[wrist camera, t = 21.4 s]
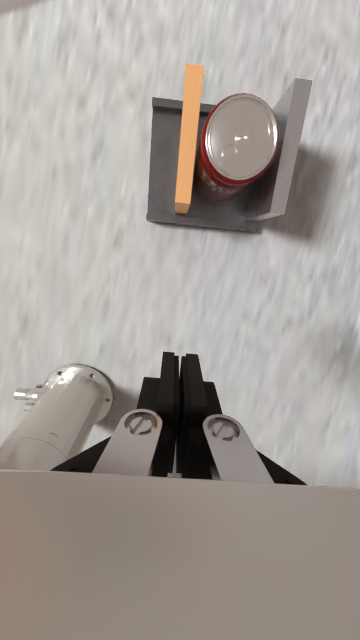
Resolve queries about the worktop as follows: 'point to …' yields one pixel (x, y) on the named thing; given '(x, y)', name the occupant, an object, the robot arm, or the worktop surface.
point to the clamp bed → (249, 204)
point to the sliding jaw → (188, 136)
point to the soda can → (235, 146)
